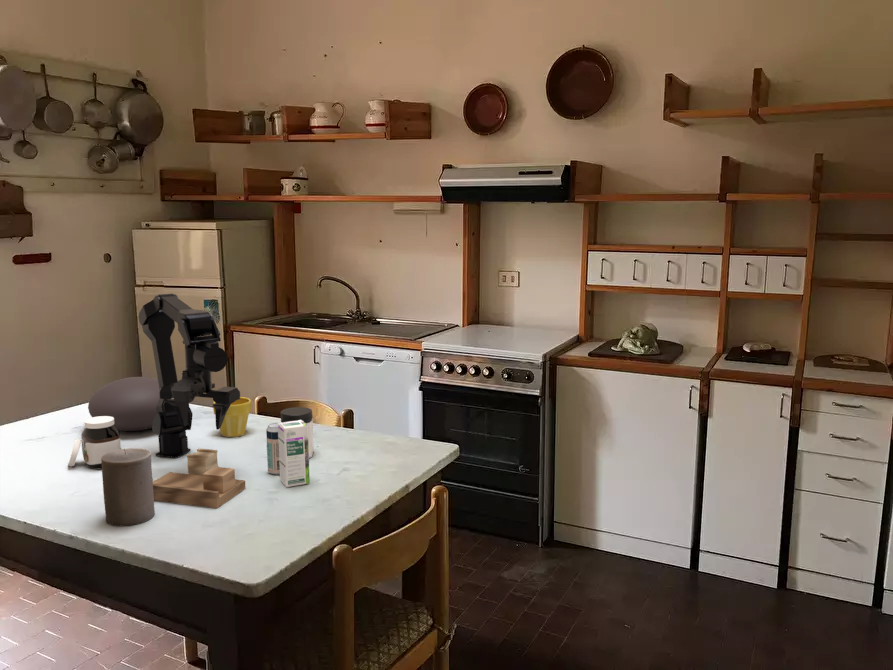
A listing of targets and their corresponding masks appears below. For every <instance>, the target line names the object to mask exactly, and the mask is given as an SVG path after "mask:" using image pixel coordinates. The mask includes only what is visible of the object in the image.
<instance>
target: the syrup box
mask: <svg viewBox="0 0 893 670" xmlns="http://www.w3.org/2000/svg"><path fill="white" fill-rule="evenodd" d="M277 423H278V441H279V465H280V474H279V479H280V481H281V483H282V484H283V485H284V486H285V487H286V488H290V487H295V486H302V485H309V484H311V483H310V480H311V478H310V458H309V448H308V426H307V424H306V423H305V422H304V421H302V420H298V421H290V422H283V423H281V422H277Z"/></svg>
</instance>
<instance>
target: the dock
mask: <svg viewBox="0 0 893 670" xmlns="http://www.w3.org/2000/svg"><path fill="white" fill-rule="evenodd" d="M244 490H246V480H245V479H237V478H235V486H234V487H232V488H231V489H229V490H228V491H226V492H225V493H219V491H212V490H203V476H201V475H192V474H188V473H180V472H172V471H169V472H168V473H165V474H164V475H162V476H160V477H159V478H157V479H155V480H153V494H154V502H155V501H156V502H163V503H172V504H180V505H188V506H196V507H204V508H212V509H213V508H214V509H219V508H221V506H224V504H226V503H227V502H229V501H230V500H231V499H233V498H234V497H236V496H237V495H238V494H240V493H242V492H243V491H244Z"/></svg>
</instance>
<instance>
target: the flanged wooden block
mask: <svg viewBox="0 0 893 670" xmlns="http://www.w3.org/2000/svg"><path fill="white" fill-rule="evenodd" d="M186 458H187V459H186V461H187V462H186V463H187V474H192V475H201V476H203V474H204V473H205V472H207V471H209V470H210V469H212V468H214V467H219V466H218V449H209V448H200V447H198V448H197V449H196V451H195V452H193V453H187V454H186Z"/></svg>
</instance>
